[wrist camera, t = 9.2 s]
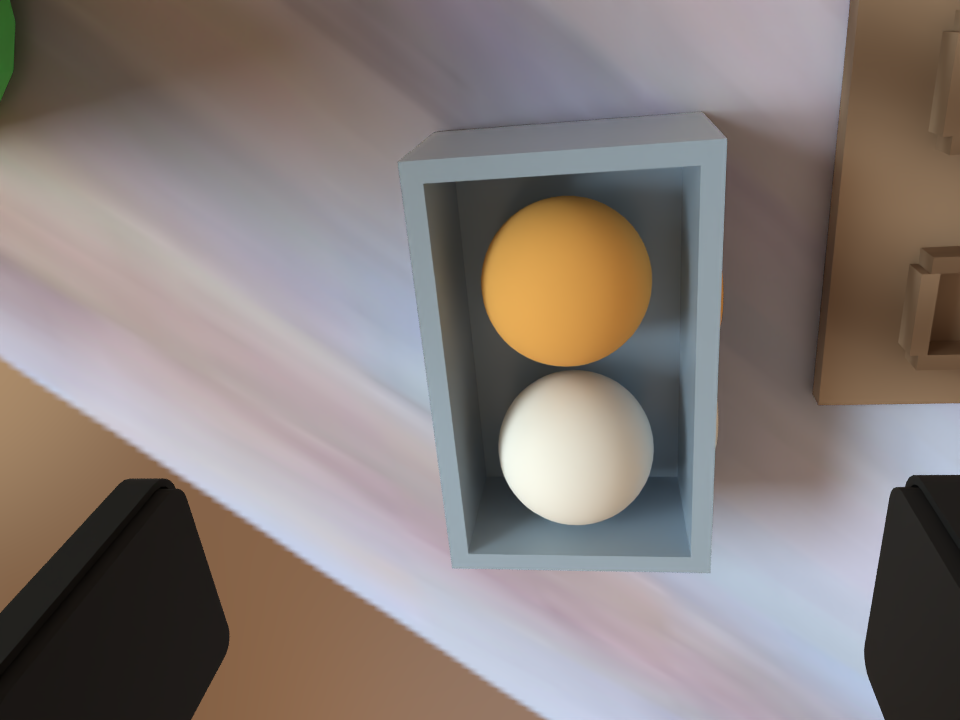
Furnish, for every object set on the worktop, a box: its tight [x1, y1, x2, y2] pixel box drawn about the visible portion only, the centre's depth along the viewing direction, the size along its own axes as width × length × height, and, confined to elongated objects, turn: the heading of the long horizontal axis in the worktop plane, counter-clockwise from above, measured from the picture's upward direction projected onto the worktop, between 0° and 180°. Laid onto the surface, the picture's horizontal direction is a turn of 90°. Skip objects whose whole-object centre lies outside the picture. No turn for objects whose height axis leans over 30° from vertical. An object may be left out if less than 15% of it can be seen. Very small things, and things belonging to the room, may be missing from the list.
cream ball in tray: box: [498, 370, 654, 525], centre depth 25 cm, size 5×5×5 cm
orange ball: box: [481, 196, 652, 367], centre depth 23 cm, size 5×5×5 cm
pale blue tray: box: [398, 112, 727, 573], centre depth 24 cm, size 13×8×5 cm, turn 6°
